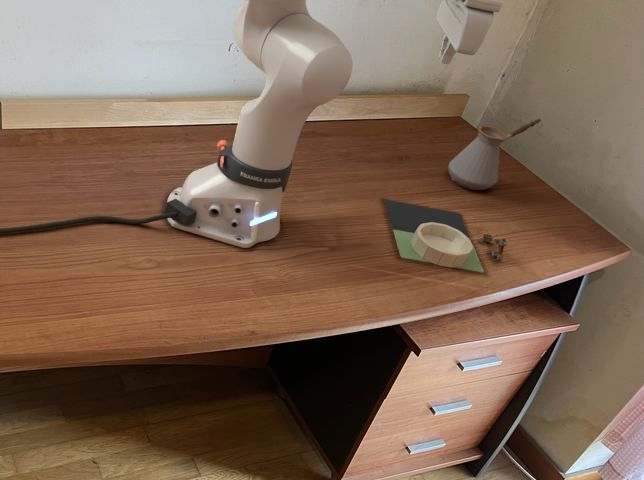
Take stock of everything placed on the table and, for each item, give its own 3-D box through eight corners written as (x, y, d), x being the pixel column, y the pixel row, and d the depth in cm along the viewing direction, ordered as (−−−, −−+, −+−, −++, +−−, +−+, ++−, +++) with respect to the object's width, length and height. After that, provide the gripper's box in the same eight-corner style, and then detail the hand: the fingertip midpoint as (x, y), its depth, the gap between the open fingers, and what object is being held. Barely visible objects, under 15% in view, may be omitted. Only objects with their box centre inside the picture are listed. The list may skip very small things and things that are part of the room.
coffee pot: (468, 198, 163) (498, 137, 153) (433, 173, 170) (461, 113, 160) (529, 188, 172) (561, 130, 162) (494, 164, 179) (523, 107, 169)
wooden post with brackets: (496, 261, 142) (503, 239, 141) (477, 253, 150) (483, 232, 149) (505, 262, 143) (511, 240, 141) (485, 254, 150) (491, 233, 149)
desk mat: (399, 258, 139) (400, 257, 139) (383, 200, 155) (384, 199, 155) (483, 274, 140) (484, 272, 140) (459, 215, 156) (459, 213, 156)
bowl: (416, 261, 138) (423, 248, 136) (407, 230, 147) (412, 218, 145) (471, 271, 139) (478, 259, 137) (458, 240, 147) (465, 228, 145)
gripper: (446, -34, 138) (418, 39, 147) (471, -2, 123) (438, 77, 132) (477, -27, 139) (447, 45, 148) (506, 5, 123) (471, 84, 132)
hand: (443, 61), depth 140 cm, fingers closed
